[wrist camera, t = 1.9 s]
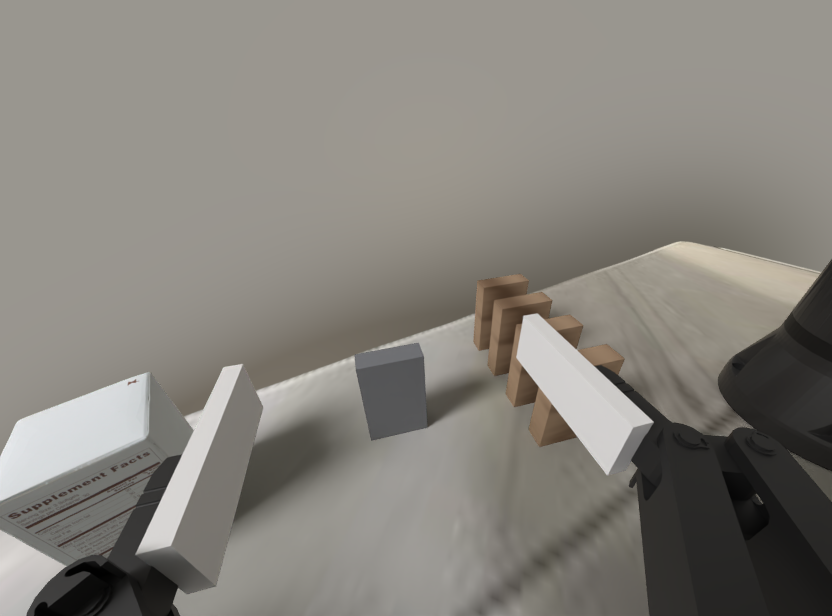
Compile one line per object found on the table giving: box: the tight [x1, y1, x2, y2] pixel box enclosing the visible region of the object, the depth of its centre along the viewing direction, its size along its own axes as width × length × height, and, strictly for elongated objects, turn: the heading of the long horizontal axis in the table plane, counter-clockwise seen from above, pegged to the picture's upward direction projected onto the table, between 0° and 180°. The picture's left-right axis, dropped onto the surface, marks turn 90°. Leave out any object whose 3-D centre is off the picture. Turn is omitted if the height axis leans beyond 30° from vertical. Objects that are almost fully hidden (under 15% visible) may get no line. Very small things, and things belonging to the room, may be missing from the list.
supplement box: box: [0, 372, 194, 566], centre depth 22 cm, size 7×7×13 cm
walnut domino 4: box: [529, 344, 625, 447], centre depth 28 cm, size 6×2×10 cm, turn 103°
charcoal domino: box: [355, 343, 427, 440], centre depth 29 cm, size 6×2×10 cm, turn 103°
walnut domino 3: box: [506, 315, 583, 407], centre depth 32 cm, size 6×2×10 cm, turn 103°
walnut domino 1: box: [474, 274, 529, 350], centre depth 40 cm, size 6×2×10 cm, turn 103°
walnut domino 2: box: [488, 292, 552, 376], centre depth 36 cm, size 6×2×10 cm, turn 103°
